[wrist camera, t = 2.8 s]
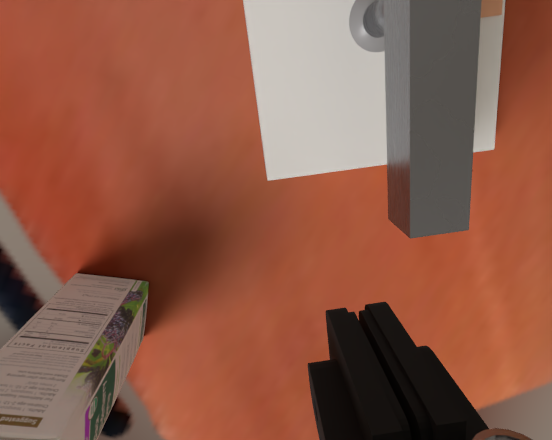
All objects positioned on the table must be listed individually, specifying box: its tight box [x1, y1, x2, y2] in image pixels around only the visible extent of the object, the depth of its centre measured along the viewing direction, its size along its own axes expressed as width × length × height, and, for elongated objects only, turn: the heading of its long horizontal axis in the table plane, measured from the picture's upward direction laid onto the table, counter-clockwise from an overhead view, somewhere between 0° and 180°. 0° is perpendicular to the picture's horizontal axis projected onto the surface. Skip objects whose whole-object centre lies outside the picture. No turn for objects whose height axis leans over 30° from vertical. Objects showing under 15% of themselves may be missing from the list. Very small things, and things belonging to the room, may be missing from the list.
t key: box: [363, 0, 482, 238], centre depth 18 cm, size 22×3×8 cm, turn 7°
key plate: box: [243, 0, 505, 181], centre depth 23 cm, size 18×16×2 cm
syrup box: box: [0, 273, 149, 440], centre depth 23 cm, size 6×6×14 cm
